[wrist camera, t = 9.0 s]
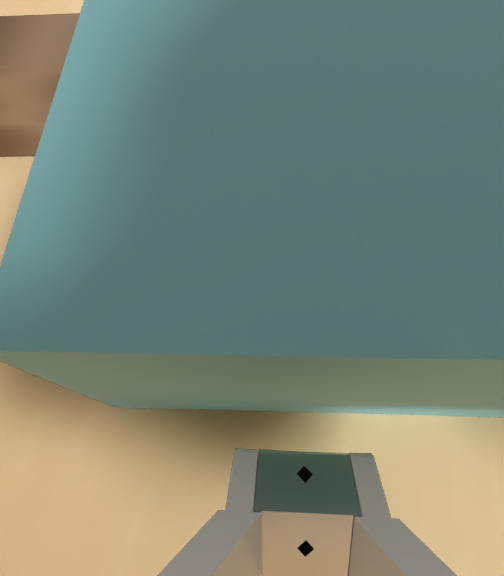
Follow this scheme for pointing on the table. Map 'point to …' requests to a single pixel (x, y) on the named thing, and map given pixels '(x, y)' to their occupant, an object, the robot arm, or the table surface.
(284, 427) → the table surface
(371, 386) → the teal block
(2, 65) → the walnut board
